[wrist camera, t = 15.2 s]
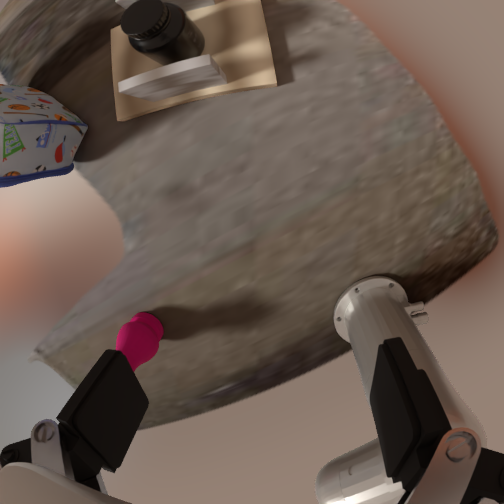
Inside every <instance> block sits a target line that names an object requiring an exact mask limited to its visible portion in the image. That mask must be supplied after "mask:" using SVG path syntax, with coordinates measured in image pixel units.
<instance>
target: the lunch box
mask: <svg viewBox="0 0 504 504" xmlns="http://www.w3.org/2000/svg"><path fill="white" fill-rule="evenodd" d="M87 129H88V126H87V124H85V123H84V122H82V121H81V120H80V119H79V118H78V117H77V116H76V115H75V114H74V113H73V112H71V111H70V110H69V109H67V108H66V107H65V106H63V105H62V104H61V103H59V102H58V101H57V100H55V99H54V98H53V97H52V96H50V95H48V94H46V93H44V92H41V91H39V90H37V89H34V88H31V87H26V86H19V85H3V84H0V188H1V187H9V186H13V185H16V184H19V183H23V182H28V181H31V180H35V179H40V178H45V177H52V176H60V175H66V174H68V173H70V172H71V171H72V170H73V168H74V164H73V163H72V161H73V158H74V155H75V153H76V151H77V149H78V147H79V145H80V143H81V141H82V139H83V136H84V134H85V132H86V131H87Z"/></svg>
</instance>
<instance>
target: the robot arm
mask: <svg viewBox="0 0 504 504" xmlns="http://www.w3.org/2000/svg"><path fill="white" fill-rule="evenodd" d="M423 309H424V304H423V302H416V303H413V304H410V303H408V299H407V295H406V293H405V291H404V289H403V288H402V286H401V285H400V284H399V283H398V282H397V281H395V280H393V279H391V278H389V277H385V276H372V277H367V278H364V279H361V280H359V281H357V282H355V283H354V284H353V285H351V286H350V287H349V288H348V289H346V290H345V291H344V292H343V294H342V295H341V296H340V298H339V299H338V301H337V303H336V306H335V309H334V317H333V319H334V324H335V327H336V330H337V332H338V334H339V335H340V336H341V337H342V338H343V339H344V340H346V341H347V342H349V343H351V346H352V350H353V353H354V356H355V360H356V363H357V366H358V370H359V373H360V377H361V381H362V384H363V388H364V392H365V395H366V398H367V402H368V405H369V407H370V408H371V410H372V413H373V417H374V421H375V425H376V429H377V434H378V438H376V439H374V440H372V441H370V442H368V443H366V444H364V445H362V446H360V447H358V448H356V449H354V450H352V451H349V452H348V453H345V454H343V455H341V456H339V457H337V458H335V459H333V460H331V461H330V462H328V463H327V464H326V465H325V466H324V467H323V468H322V469H321V470H320V472H319V473H318V475H317V478H316V482H315V493H316V498H317V501H318V504H504V454H502V453H499V452H496V451H492V450H489V449H487V438H486V434H485V431H484V429H483V426H482V425H481V423H480V421H479V420H478V418H477V417H476V415H475V414H474V413H473V412H472V410H471V409H470V408H469V406H468V405H467V404H466V403H465V402H464V400H463V399H462V398H461V396H460V395H459V394H458V392H457V391H456V389H455V388H454V387H453V385H452V384H451V382H450V381H449V379H448V377H447V375H446V374H445V372H444V371H443V369H442V367H441V366H440V364H439V362H438V361H437V359H436V357H435V356H434V354H433V352H432V351H431V349H430V347H429V346H428V344H427V342H426V341H425V339H424V338H423V336H422V334H421V333H420V331H419V330H418V328H417V326H416V325H422V324H426V323H427V322H428V314H427V313H426V312H423V313H418V314H415V315H410V314H411V312H413V311H421V310H423ZM148 404H149V401H148V398H147V396H146V394H145V393H144V391H143V389H142V387H141V385H140V383H139V381H138V380H137V378H136V376H135V374H134V372H133V370H132V368H131V366H130V364H129V362H128V360H127V357H126V356H125V355H124V354H123V353H122V352H121V351H120V350H111V349H108V350H106V351H105V352H104V353H103V354H102V356H101V357H100V358H99V360H98V361H97V362H96V364H95V365H94V366H93V368H92V369H91V370H90V372H89V373H88V374H87V376H86V377H85V378H84V380H83V381H82V382H81V384H80V385H79V386H78V388H77V389H76V391H75V392H74V393H73V395H72V396H71V398H70V399H69V401H68V402H67V403H66V405H65V406H64V407H63V409H62V410H61V412H60V413H59V415H58V416H57V417H56V418H57V420H58V421H59V422H60V423H59V424H57V423H56V422H55V421H53V420H51V419H45V420H42V421H40V422H38V423H37V424H36V425H35V426H34V427H33V429H32V431H31V438H29V439H26V440H23V441H20V442H16V443H13V444H10V445H8V446H6V447H5V448H3V450H2V452H1V454H0V504H131V503H128V502H125V501H123V500H119V499H117V498H114V497H111V496H109V495H108V494H107V491H106V488H105V485H104V482H103V479H102V476H101V473H100V470H101V468H103V469H104V470H107V471H110V472H113V473H115V471H116V469H117V468H119V467H120V466H121V464H122V462H123V459H124V457H125V455H126V453H127V451H128V448H129V446H130V444H131V442H132V440H133V438H134V435H135V433H136V431H137V429H138V427H139V425H140V423H141V420H142V418H143V416H144V414H145V412H146V410H147V408H148Z"/></svg>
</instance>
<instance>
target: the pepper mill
mask: <svg viewBox="0 0 504 504" xmlns="http://www.w3.org/2000/svg"><path fill="white" fill-rule="evenodd" d="M163 333H164V330H163V326H162V324H161V323H160V321H159V320H158V319H157V318H156V317H154V316H153V315H151V314H149V313H145V312H140V313H137V314H136V315H134V317H133V318H132V319H131V321H130V322H128V323H126V324H124V325H123V326H122V328H121V329H120V331H119V333H118V336H117V342H116V350H120V351H121V352H122V353H123V354H124V355H125V356H126V357H127V360H128V362H129V364H130V366H131V368H132V370H133V372H134V371H135V370H136V368H137V367H138V366H139V365H141V364H143V363H145V362H147V361H149V360H150V359H151V358H153V357H154V355H155V354H156V353H157V351H158V348H159V341H160V340H161V338H162V336H163Z"/></svg>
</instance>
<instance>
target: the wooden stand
mask: <svg viewBox="0 0 504 504" xmlns="http://www.w3.org/2000/svg"><path fill="white" fill-rule="evenodd" d="M136 1H137V0H116V3H118V4H119V5H121V6H122V7H123V8H125V9H127V8H128V7H129V6H130V5H132V4H133V3H134V2H136ZM161 1H162V2H168V3H173V4H176V5H178V6H180V7H181V8H182V9H183V10H184V11H185V12H186V14H187V15H188V16H189V17H190V18H191V20H192V21H193V22H194V23H195V24H196V26H197V27H198V28H199V29H200V31H201V32H202V34H203V36H204V39H205V46H204V50H203V52H202V54H201V55H200V56H198V57H194V58H190V59H187V60H183V61H179V62H176V63H172V64H169V65H166V66H163V65H161V64H159V63H158V62H156V61H154V60H152V59H150V58H149V57H147V56H145V55H143V54H141V53H139V52H138V51H136V50H135V49H134V48H133V47H132V46H131V45H130V43H129V39H128V35H127V34H125V33H124V32H123V31H122V29H121V27H120V26H121V25H119V26H117V27H115V28H113V29H111V57H112V74H113V87H114V98H115V107H116V116H117V121H127V120H130V119H133V118H136V117H139V116H142V115H145V114H148V113H152V112H155V111H158V110H162V109H165V108H169V107H173V106H176V105H180V104H184V103H188V102H192V101H197V100H201V99H205V98H210V97H215V96H220V95H225V94H231V93H236V92H242V91H248V90H255V89H262V88H270V87H277V80H276V75H275V69H274V64H273V58H272V53H271V48H270V43H269V38H268V33H267V28H266V23H265V18H264V14H263V9H262V5H261V0H161Z"/></svg>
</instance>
